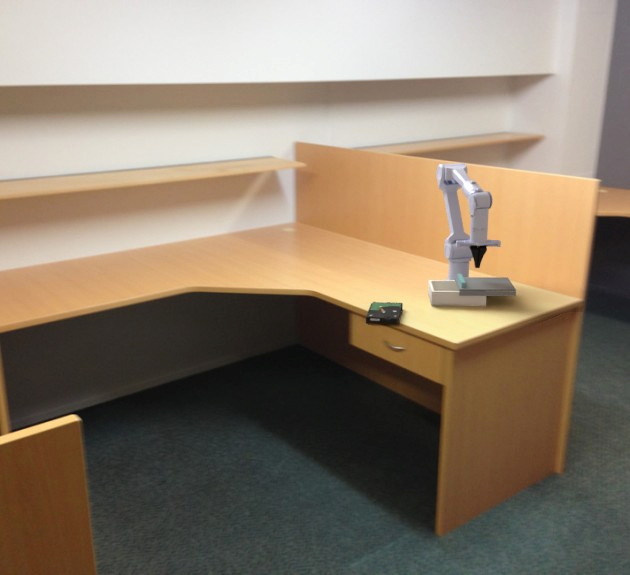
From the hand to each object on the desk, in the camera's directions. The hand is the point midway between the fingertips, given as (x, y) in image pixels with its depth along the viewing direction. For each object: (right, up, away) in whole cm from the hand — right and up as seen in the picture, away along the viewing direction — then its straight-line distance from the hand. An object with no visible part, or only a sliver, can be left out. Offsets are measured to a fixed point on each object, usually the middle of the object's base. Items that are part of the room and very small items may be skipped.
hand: (477, 267), depth 235 cm
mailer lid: (+2, -7, -2) cm, 8 cm away
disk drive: (-33, -17, -13) cm, 39 cm away
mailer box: (-7, -11, 0) cm, 13 cm away
